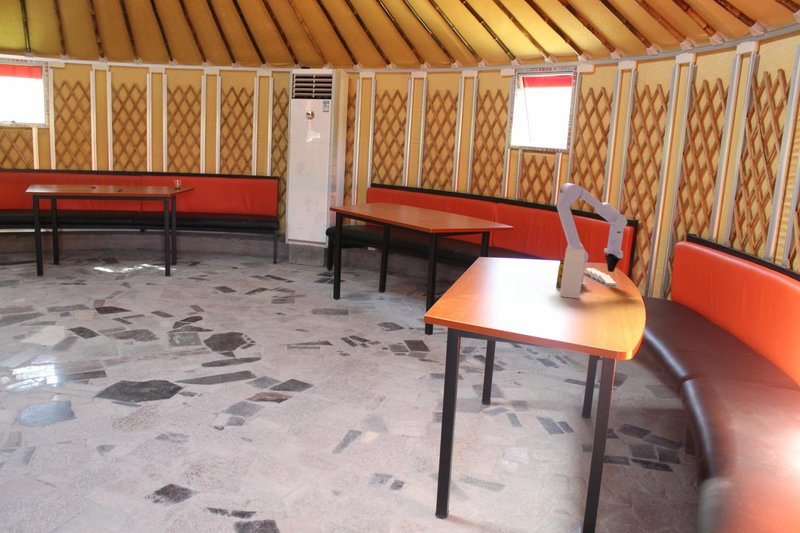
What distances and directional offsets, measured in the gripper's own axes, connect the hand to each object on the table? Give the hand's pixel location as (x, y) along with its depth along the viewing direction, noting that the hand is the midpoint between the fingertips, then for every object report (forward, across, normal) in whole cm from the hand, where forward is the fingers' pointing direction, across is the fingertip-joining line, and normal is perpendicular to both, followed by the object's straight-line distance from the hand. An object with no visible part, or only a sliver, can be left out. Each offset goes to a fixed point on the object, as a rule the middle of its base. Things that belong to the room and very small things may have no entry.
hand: (610, 271), depth 281 cm
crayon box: (+7, -10, +24) cm, 27 cm away
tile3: (+5, +8, 0) cm, 9 cm away
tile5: (+5, +18, 0) cm, 18 cm away
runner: (+6, +7, 0) cm, 9 cm away
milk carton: (+7, -25, +28) cm, 38 cm away
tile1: (+5, -2, 0) cm, 6 cm away
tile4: (+5, +12, 0) cm, 14 cm away
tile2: (+5, +3, 0) cm, 6 cm away
